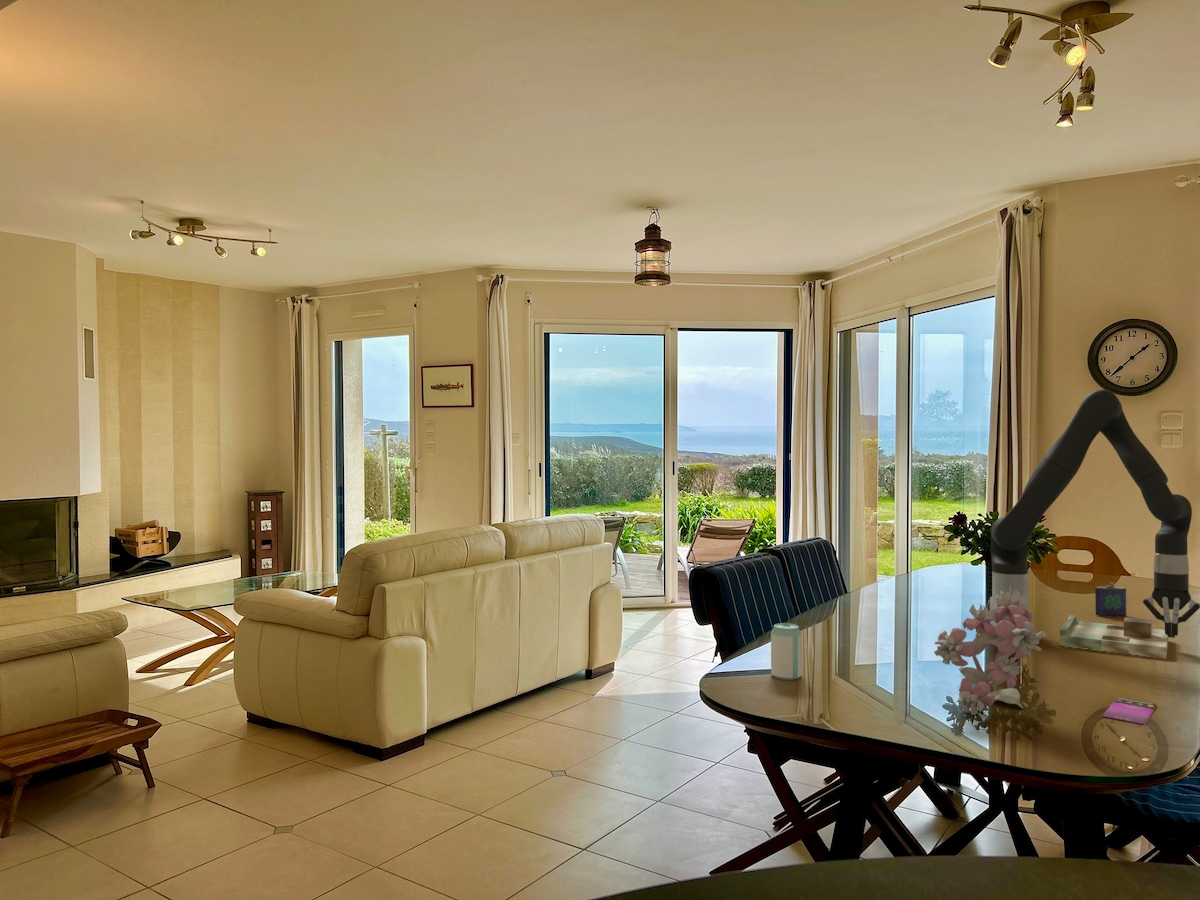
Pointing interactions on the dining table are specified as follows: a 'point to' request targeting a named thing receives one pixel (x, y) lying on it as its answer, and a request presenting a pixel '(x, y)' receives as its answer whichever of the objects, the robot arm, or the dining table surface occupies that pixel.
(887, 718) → the dining table surface
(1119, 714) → the smartphone
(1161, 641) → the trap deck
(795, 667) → the can
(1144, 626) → the walnut block
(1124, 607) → the flask
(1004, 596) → the flower
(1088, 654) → the dining table surface
